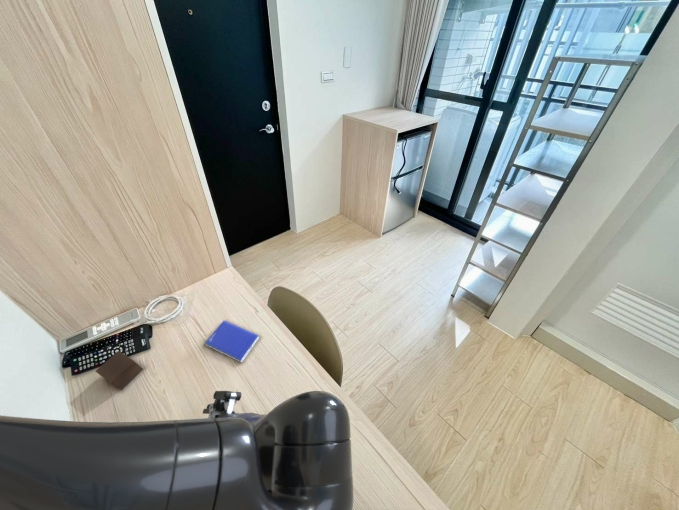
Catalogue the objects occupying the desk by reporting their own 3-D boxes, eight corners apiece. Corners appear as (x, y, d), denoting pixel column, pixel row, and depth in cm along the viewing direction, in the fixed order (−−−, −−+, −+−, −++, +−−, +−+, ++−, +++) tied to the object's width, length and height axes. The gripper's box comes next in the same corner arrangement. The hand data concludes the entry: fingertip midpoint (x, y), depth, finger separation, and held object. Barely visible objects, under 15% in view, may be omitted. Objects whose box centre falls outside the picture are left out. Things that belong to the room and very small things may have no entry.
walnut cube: (121, 390, 68) (110, 382, 64) (106, 379, 70) (94, 371, 66) (143, 369, 72) (133, 360, 68) (128, 359, 74) (118, 350, 70)
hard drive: (204, 342, 76) (240, 360, 72) (224, 319, 81) (258, 335, 78) (206, 345, 77) (241, 362, 73) (225, 322, 82) (259, 337, 79)
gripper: (224, 383, 37) (191, 391, 47) (190, 528, 29) (159, 499, 39) (274, 388, 41) (233, 395, 51) (255, 517, 33) (211, 494, 43)
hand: (201, 440), depth 45 cm, fingers open, 8 cm apart
